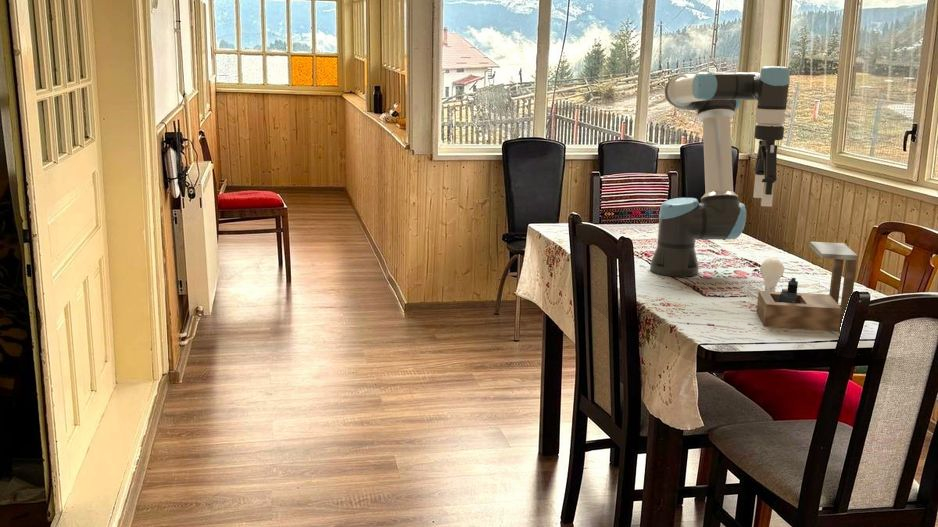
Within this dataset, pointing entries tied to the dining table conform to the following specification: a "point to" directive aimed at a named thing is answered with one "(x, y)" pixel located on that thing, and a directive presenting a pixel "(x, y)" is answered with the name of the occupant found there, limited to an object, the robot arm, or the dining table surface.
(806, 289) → the dining table surface
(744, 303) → the dining table surface
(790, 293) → the vaping device
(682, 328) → the dining table surface
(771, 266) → the light bulb
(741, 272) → the dining table surface
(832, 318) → the socket station
